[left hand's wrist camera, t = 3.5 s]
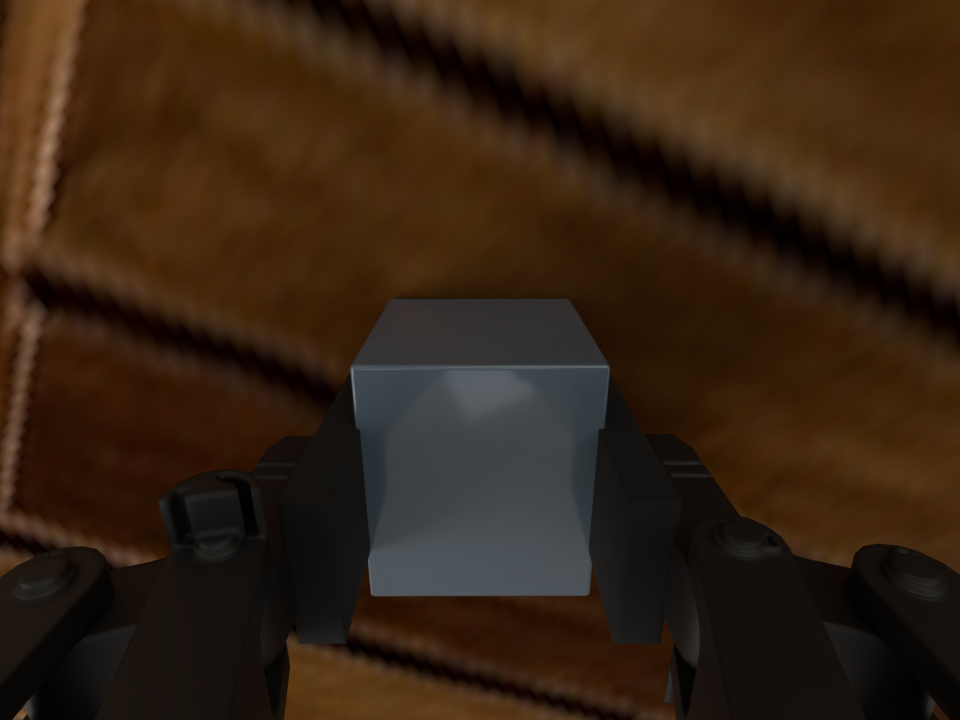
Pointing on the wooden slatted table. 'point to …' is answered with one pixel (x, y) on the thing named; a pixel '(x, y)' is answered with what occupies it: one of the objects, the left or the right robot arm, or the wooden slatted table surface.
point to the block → (479, 446)
